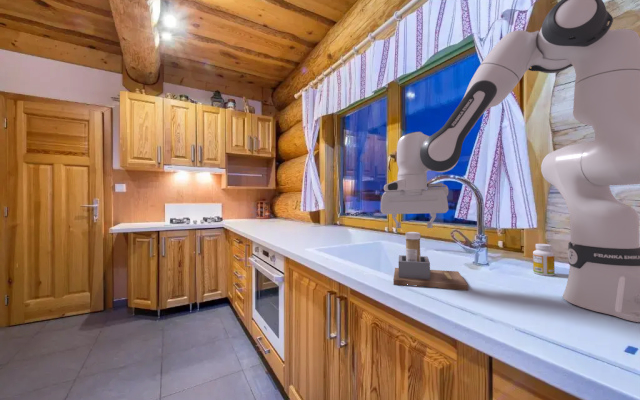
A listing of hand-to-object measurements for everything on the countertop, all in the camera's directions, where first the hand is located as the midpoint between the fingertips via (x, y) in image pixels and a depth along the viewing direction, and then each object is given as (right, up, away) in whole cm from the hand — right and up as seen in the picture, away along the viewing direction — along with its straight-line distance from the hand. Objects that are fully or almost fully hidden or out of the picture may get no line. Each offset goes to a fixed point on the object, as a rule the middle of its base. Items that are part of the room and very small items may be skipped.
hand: (413, 227), depth 85 cm
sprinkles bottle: (0, -15, 0) cm, 15 cm away
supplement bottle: (+44, -16, +3) cm, 47 cm away
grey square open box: (0, -15, 0) cm, 15 cm away
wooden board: (+4, -16, -1) cm, 17 cm away
